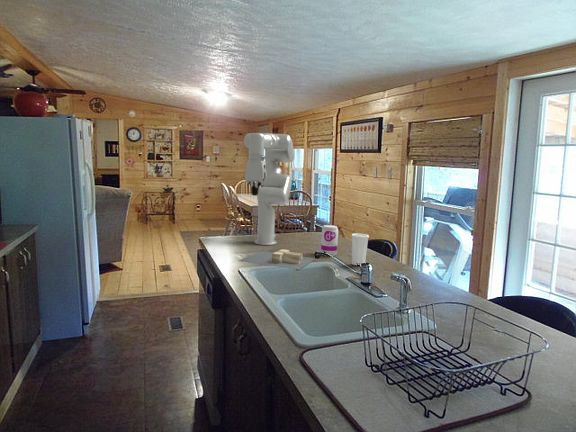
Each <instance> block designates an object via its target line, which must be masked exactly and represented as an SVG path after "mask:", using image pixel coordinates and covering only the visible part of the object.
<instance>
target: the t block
mask: <svg viewBox="0 0 576 432" xmlns="http://www.w3.org/2000/svg"><path fill="white" fill-rule="evenodd" d="M272 253H273V254H272V262H273V263H281V262H289V263H296V264H300V263H301V262H302V257H303V253H300V252H299V253H298V252H293V251H292V252H291V250H290V249H286V248H285V249H284V248H282V249H279V250H278V251H275V252H272Z"/></svg>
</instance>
